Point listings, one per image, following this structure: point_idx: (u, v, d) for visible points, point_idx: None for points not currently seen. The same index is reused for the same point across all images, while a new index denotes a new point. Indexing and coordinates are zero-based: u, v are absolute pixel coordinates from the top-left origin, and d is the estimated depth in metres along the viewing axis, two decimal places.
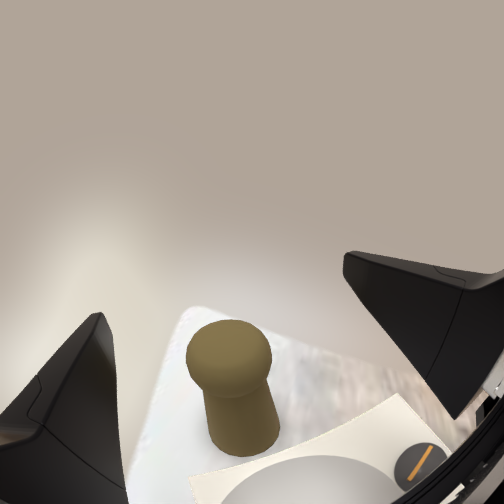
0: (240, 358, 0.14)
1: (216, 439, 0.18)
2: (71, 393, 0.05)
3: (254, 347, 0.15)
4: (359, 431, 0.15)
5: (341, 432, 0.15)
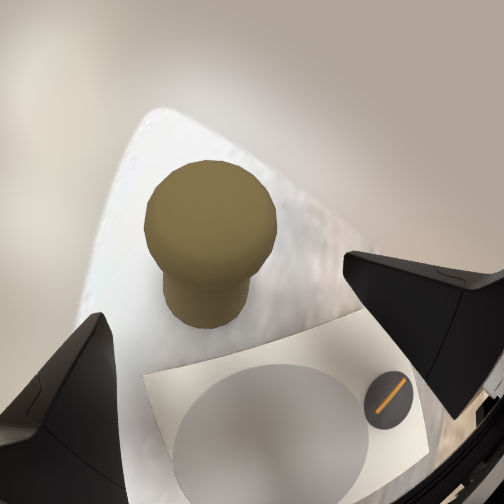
0: (236, 245, 0.09)
1: (172, 307, 0.17)
2: (71, 393, 0.05)
3: (259, 226, 0.09)
4: (343, 337, 0.15)
5: (324, 333, 0.15)
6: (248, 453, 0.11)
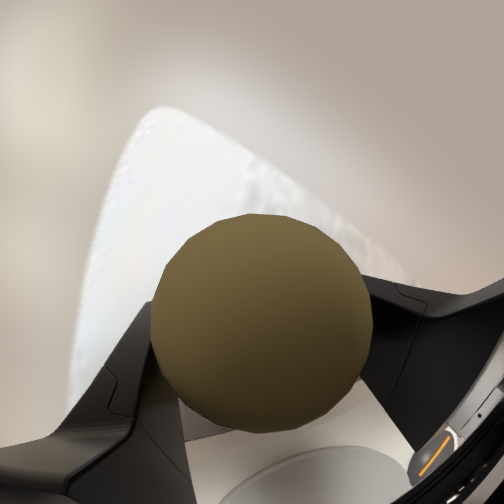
0: (326, 390, 0.05)
1: None
2: None
3: (359, 349, 0.05)
4: None
5: (376, 405, 0.11)
6: None
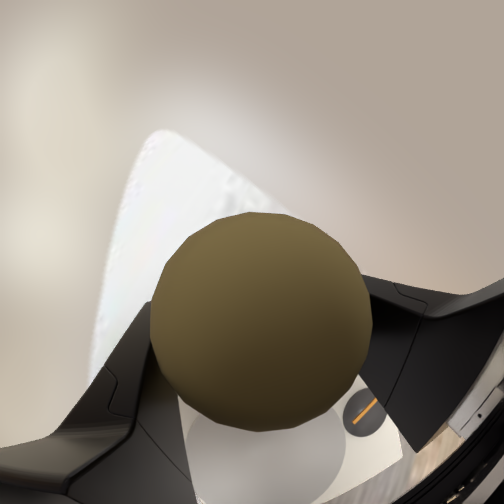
0: (326, 389, 0.05)
1: None
2: None
3: (358, 348, 0.05)
4: None
5: None
6: (244, 454, 0.14)
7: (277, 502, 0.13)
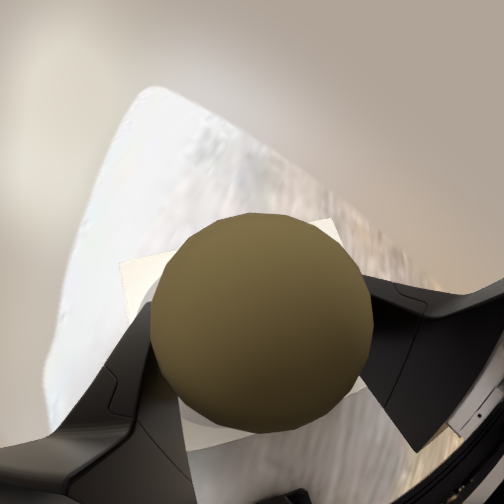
0: (326, 391, 0.05)
1: None
2: None
3: (360, 349, 0.05)
4: None
5: None
6: None
7: None
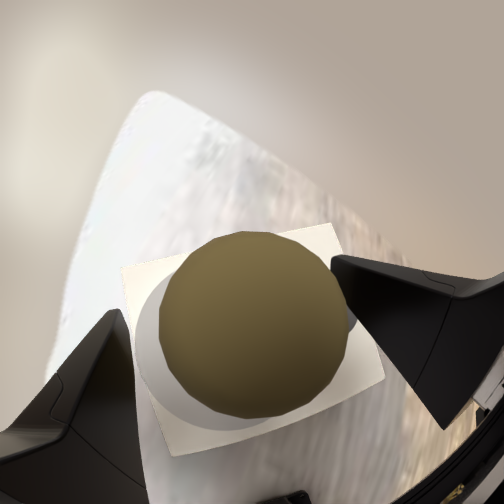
0: (306, 381, 0.06)
1: None
2: (93, 390, 0.05)
3: (335, 346, 0.06)
4: None
5: None
6: None
7: None
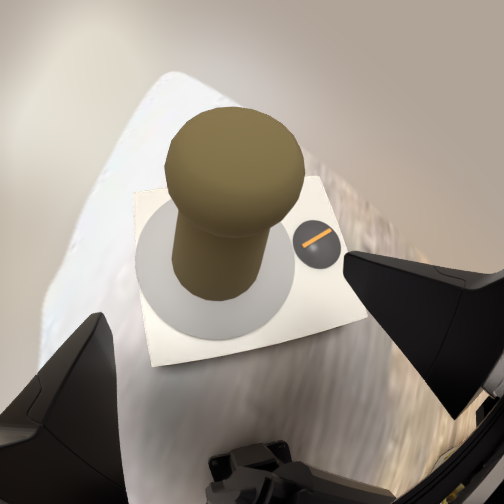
0: (265, 180, 0.08)
1: (180, 273, 0.16)
2: (71, 393, 0.05)
3: (289, 166, 0.09)
4: None
5: None
6: None
7: (218, 314, 0.17)
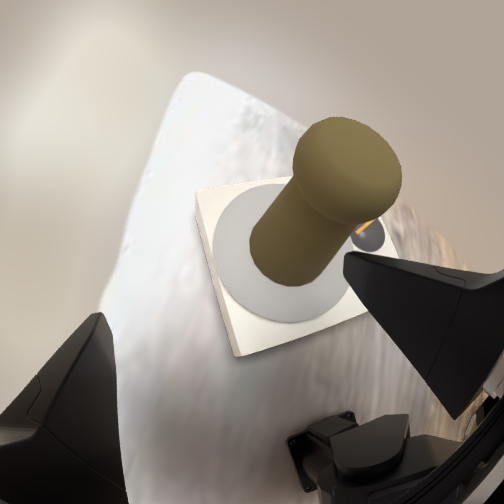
0: (389, 179, 0.10)
1: (268, 263, 0.18)
2: (71, 393, 0.05)
3: (397, 169, 0.10)
4: None
5: None
6: None
7: (299, 298, 0.19)
